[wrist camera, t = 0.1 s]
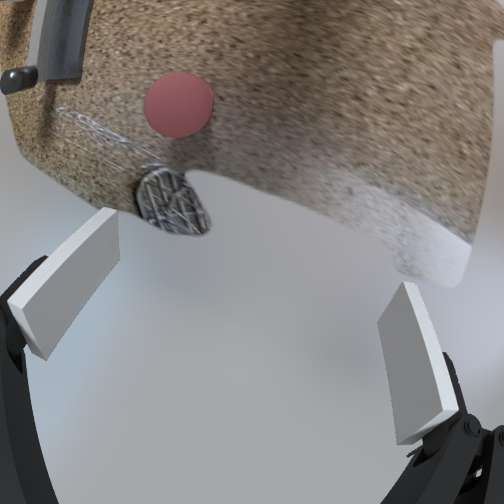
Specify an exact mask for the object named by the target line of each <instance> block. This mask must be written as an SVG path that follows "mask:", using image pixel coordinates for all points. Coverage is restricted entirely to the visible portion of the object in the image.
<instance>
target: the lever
mask: <svg viewBox="0 0 504 504" xmlns="http://www.w3.org/2000/svg"><path fill="white" fill-rule="evenodd" d="M57 4H58V0H38V1H37V5H36V10H35V15H34V20H33V26H32V32H31V38H30V45H29V53H28V62H27V67H21V68H15V69H10V70H6V71H5V72H4V73H3V75H2V77H1V80H0V89H1V91H2V93H3V94H4V95H7V94H11V93H15V92H18V91H22V90H26V89H30V88H33V87H34V86H35V85H36V83H37V82H42V81H46V80H47V68H48V59H49V50H50V43H51V36H52V30H53V24H54V19H55V14H56V9H57Z"/></svg>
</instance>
